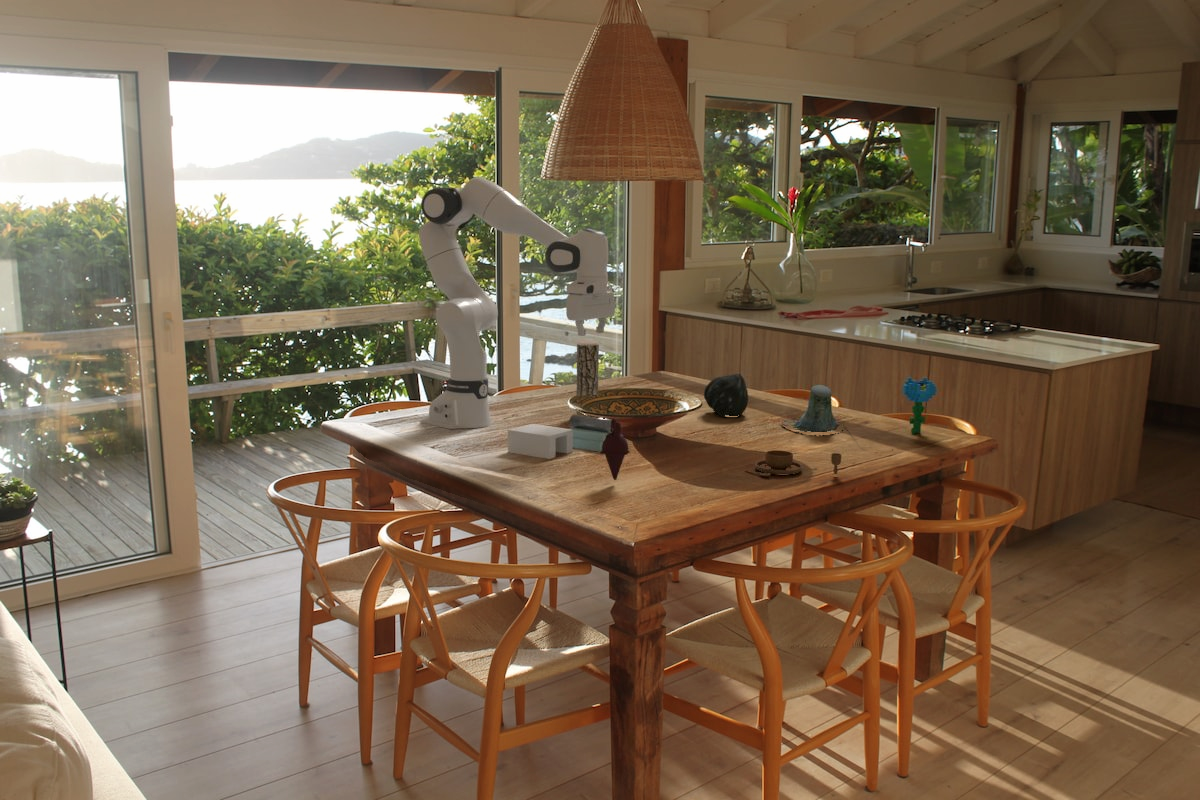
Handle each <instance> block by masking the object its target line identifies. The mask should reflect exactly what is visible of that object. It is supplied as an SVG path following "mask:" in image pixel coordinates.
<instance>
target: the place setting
mask: <svg viewBox="0 0 1200 800" xmlns="http://www.w3.org/2000/svg"><path fill="white" fill-rule="evenodd" d="M830 457H831V459H830V461H831V464H832V465H833V474H837V475H838V472H839V470H838V467H839V465H840V464H841V462H842V454H841V453H838V452H833V453H831V456H830ZM793 459H794V454H793V452H791V451H787V450H781V449H780V450H778V449H776V450H775V449H773V450H767V451H765V459H764V460H759V461H756V462H755V469H756V470H759V472H758V471H757V472H756V471H751V472H750V470H747V471H748V472H747V473H752V474H753V473H754V474H758V475H760V476H762V477H770V476H771V474H793V473H797V472H799V473H801V472H802V469H803V464H801V463H798V462H797V461H794V460H793ZM762 464H767V465H768V466H767V467H770V468H771V469H766V468H762V467H759V466H760V465H762ZM791 465H795V466H797V467H799V468H798V469H794V470H786V469H787V468H789V467H790V466H791ZM772 469H773V470H772ZM760 471H761V472H760ZM762 472H765V473H762ZM768 473H770V474H768ZM797 474H798V473H797Z"/></svg>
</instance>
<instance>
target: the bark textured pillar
mask: <svg viewBox="0 0 1200 800" xmlns="http://www.w3.org/2000/svg"><path fill="white" fill-rule="evenodd" d="M599 351H600V344H599V342H598V341H591V340H590V341H588V340H585V341H583V340H582V341H581V340H580V341H577V343H576V396H577V395H578V396H593V395H598V396H599V361H600V358H599V357H600V354H599ZM576 415H583V416H586V415H584V414H582V413H580V412H578V411H577V410H576Z"/></svg>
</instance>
